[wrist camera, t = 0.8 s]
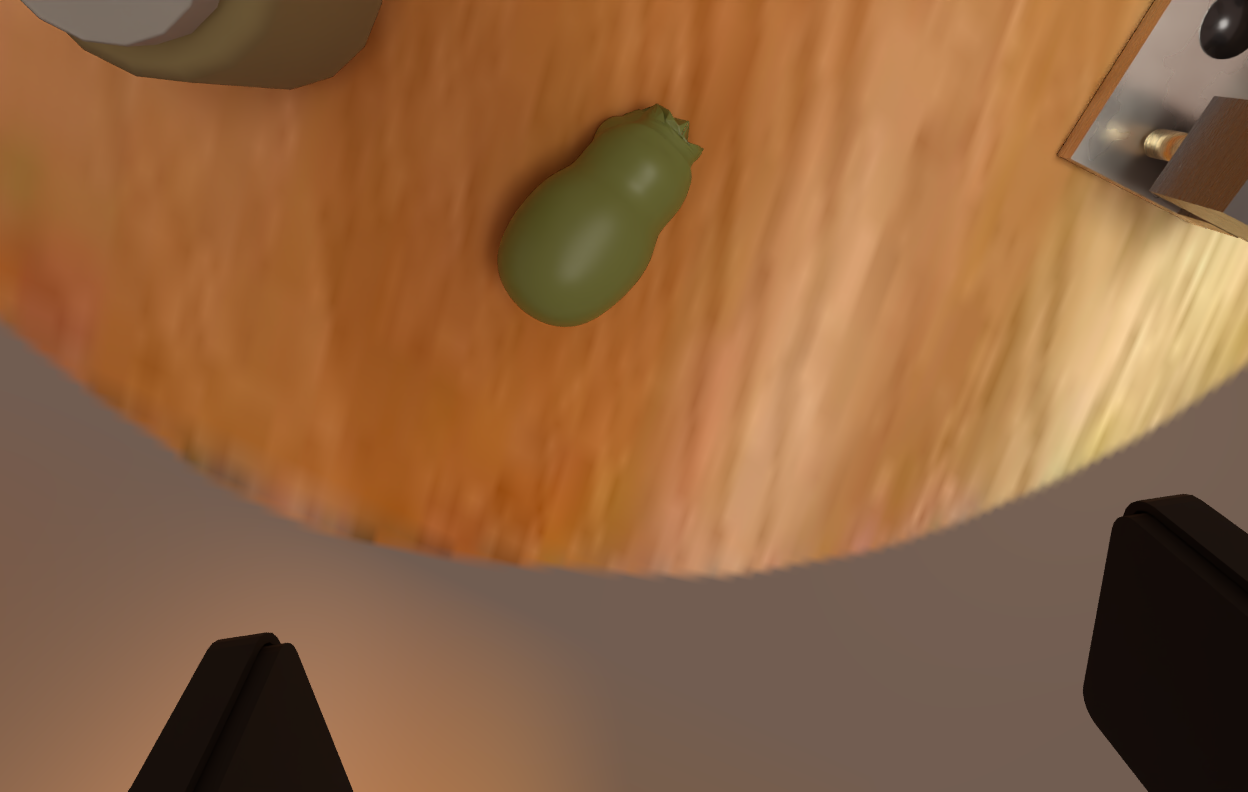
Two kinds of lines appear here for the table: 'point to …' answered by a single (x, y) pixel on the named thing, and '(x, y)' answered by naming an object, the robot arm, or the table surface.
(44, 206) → the table surface
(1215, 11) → the bolt plate
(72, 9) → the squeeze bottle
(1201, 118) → the grey block with knob
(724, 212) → the table surface
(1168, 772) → the robot arm
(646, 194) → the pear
